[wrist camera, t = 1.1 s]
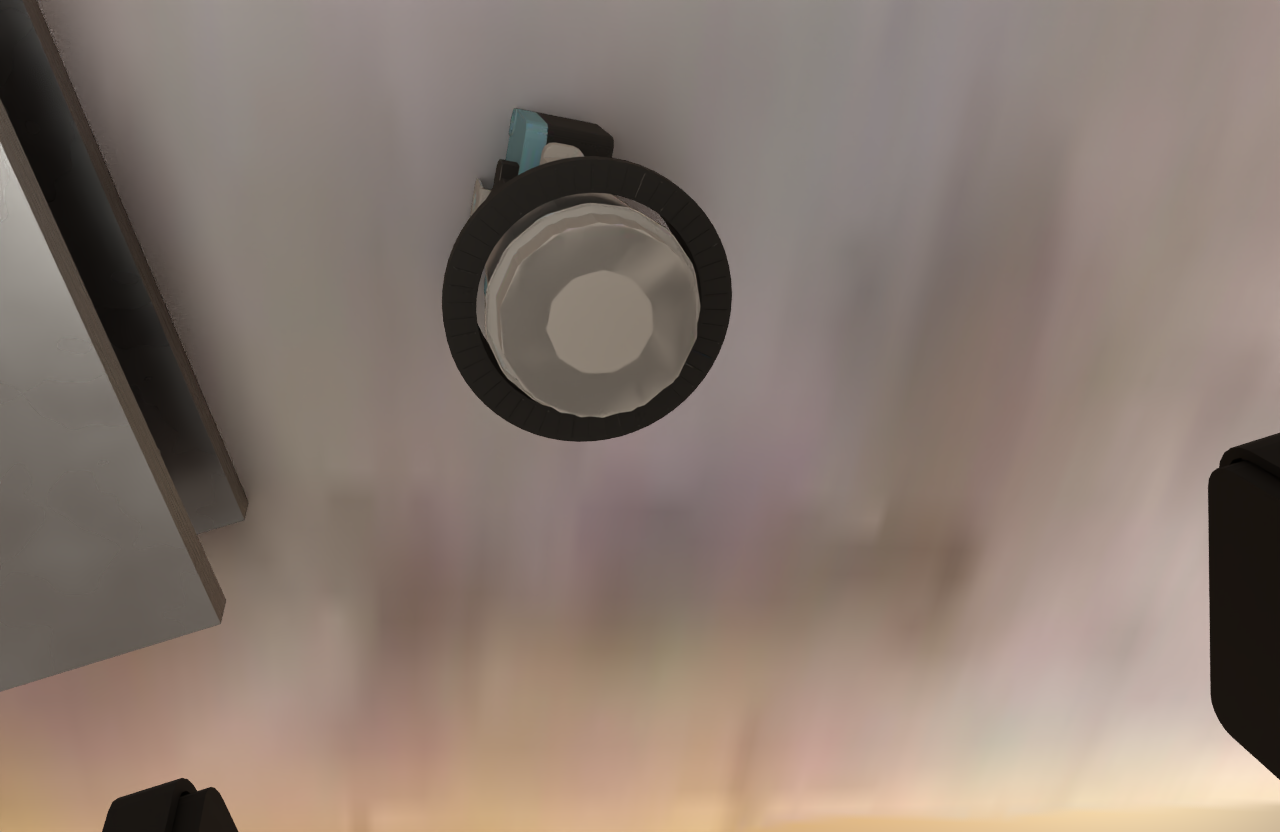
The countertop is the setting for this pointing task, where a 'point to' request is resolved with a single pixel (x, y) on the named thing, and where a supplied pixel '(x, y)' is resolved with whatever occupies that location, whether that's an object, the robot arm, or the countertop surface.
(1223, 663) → the robot arm
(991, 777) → the countertop surface
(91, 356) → the stand
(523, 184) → the push button
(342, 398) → the countertop surface
